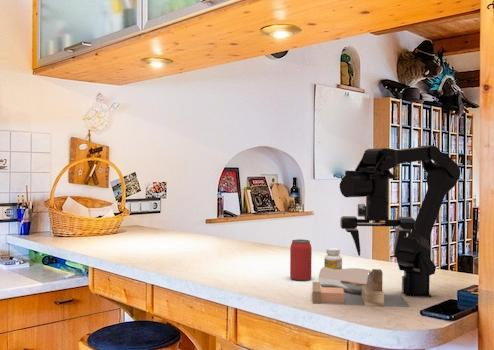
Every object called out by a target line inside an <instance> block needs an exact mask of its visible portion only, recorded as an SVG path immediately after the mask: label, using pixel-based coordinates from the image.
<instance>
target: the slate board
mask: <svg viewBox="0 0 494 350" xmlns="http://www.w3.org/2000/svg"><path fill="white" fill-rule="evenodd" d="M320 287H321V286H320V282H319V281H312V304H314V305H335V306H336V305H338V306H339V305H340V306H368V307H369V305H365V304H364V301H363V299H362V294H356V293H350V292H348V293H347V292H346V293H345V292H344V303H328V302H321V288H320ZM383 307H395V308H396V307H399V308H410V305H409V304H408V303H407V301H406V299H405V298H404V297H403V295H401V294H384V306H383Z"/></svg>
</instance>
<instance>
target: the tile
mask: <svg viewBox="0 0 494 350" xmlns="http://www.w3.org/2000/svg"><path fill="white" fill-rule="evenodd" d="M320 288H321V302H328V303H344V293H345V291H344V290H343V288H329V287H321V286H320Z"/></svg>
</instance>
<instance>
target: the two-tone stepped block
mask: <svg viewBox="0 0 494 350" xmlns="http://www.w3.org/2000/svg"><path fill="white" fill-rule="evenodd" d="M371 271H372V286H363V285H362V299H363V301H364V304H365V305H369V306H371V307H385V306H384V295H385V293H384V292H383V271H382V269H375V268H374V269H372V270H371ZM369 306H368V307H369Z"/></svg>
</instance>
